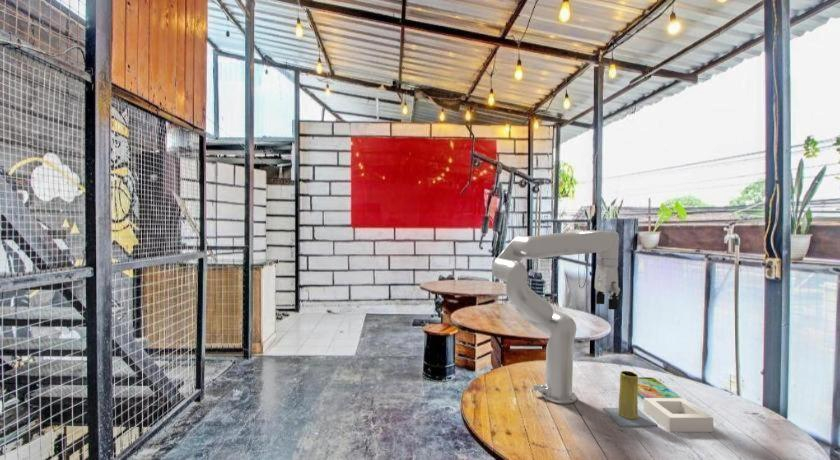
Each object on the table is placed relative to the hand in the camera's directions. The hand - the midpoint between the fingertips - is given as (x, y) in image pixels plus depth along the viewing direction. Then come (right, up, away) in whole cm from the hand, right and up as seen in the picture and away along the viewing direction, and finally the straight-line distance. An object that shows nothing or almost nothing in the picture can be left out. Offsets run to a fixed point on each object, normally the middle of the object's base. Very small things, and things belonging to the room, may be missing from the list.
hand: (606, 306), depth 154 cm
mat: (-2, -34, -20) cm, 39 cm away
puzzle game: (+16, -34, -3) cm, 38 cm away
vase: (-2, -33, -20) cm, 39 cm away
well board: (+13, -34, -22) cm, 42 cm away
